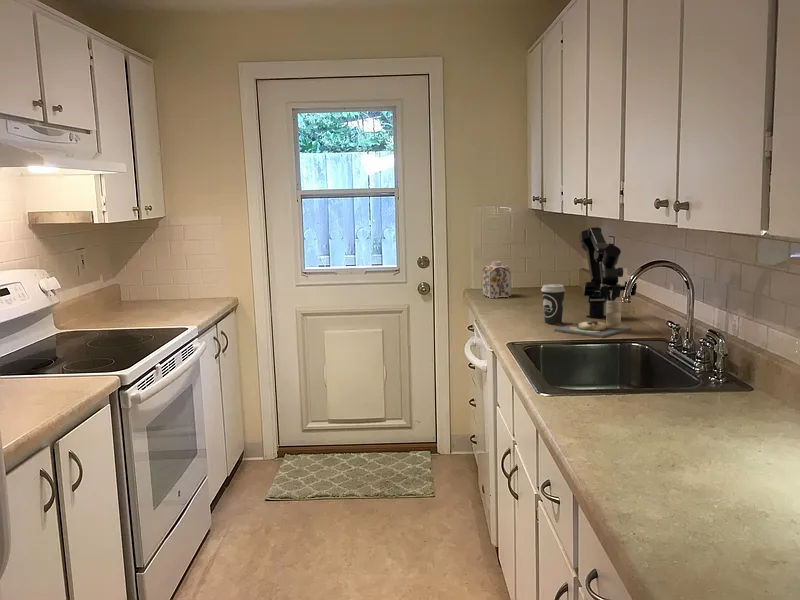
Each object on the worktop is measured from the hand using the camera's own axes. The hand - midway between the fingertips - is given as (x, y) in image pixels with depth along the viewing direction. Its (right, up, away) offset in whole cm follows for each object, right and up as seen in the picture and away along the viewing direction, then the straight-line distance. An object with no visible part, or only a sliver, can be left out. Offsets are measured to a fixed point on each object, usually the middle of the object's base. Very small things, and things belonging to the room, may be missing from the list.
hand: (611, 306), depth 255 cm
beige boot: (-5, -8, -1) cm, 9 cm away
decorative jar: (-29, +4, +97) cm, 102 cm away
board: (-7, -9, +2) cm, 11 cm away
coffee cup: (-17, -7, +20) cm, 27 cm away
